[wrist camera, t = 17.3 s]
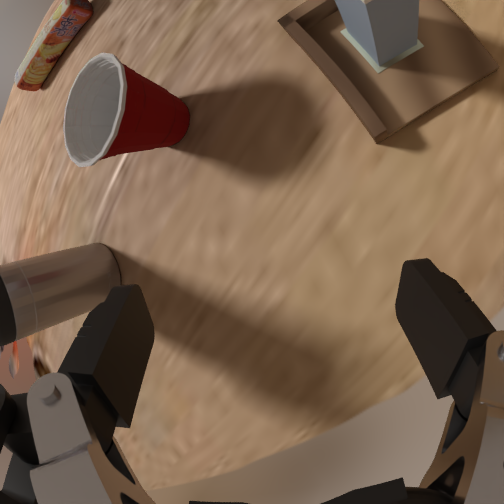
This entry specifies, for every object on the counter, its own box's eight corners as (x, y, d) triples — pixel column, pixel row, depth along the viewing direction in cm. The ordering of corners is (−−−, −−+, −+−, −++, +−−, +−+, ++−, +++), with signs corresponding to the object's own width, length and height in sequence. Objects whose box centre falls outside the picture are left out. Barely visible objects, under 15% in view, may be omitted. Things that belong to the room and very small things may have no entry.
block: (379, 67, 22) (363, -1, 12) (347, 32, 22) (314, -40, 12) (417, 44, 19) (420, -29, 10) (384, 10, 20) (367, -66, 10)
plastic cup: (135, 97, 35) (58, 81, 24) (203, 67, 30) (124, 31, 19) (140, 176, 36) (58, 179, 26) (212, 158, 31) (126, 149, 21)
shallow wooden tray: (376, 144, 24) (374, 137, 21) (290, 36, 25) (277, 20, 22) (496, 70, 17) (506, 56, 14) (400, -29, 18) (398, -49, 15)
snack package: (92, -1, 36) (64, -11, 31) (97, 14, 36) (67, 4, 30) (37, 75, 46) (12, 72, 40) (40, 94, 46) (13, 92, 40)
